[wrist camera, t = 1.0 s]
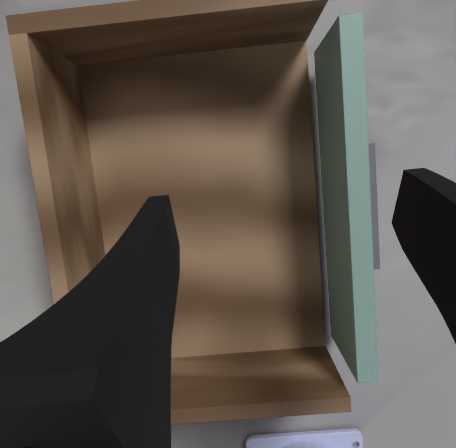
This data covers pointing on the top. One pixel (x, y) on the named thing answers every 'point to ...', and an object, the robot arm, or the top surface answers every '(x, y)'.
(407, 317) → the top surface
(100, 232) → the wooden drawer
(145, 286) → the robot arm
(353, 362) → the green flat rectangular panel
